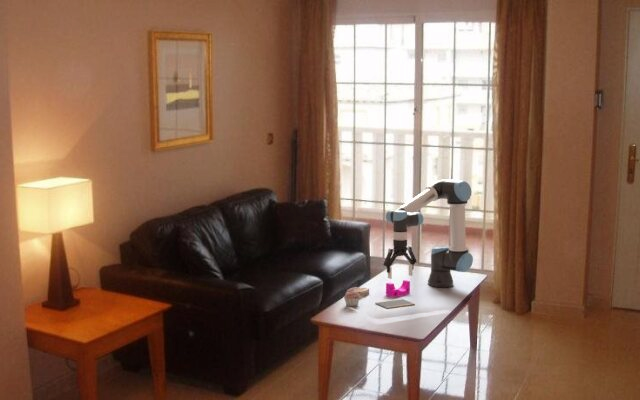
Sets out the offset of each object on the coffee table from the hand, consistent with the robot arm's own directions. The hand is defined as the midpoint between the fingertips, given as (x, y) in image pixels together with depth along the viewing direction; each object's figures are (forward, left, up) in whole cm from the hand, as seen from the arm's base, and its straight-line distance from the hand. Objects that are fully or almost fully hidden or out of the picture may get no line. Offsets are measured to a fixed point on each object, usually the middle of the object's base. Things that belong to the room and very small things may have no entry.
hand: (400, 277), depth 430 cm
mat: (+3, 0, -15) cm, 15 cm away
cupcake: (+25, -9, -15) cm, 31 cm away
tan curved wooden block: (+14, -30, -13) cm, 36 cm away
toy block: (-11, -18, -15) cm, 26 cm away
